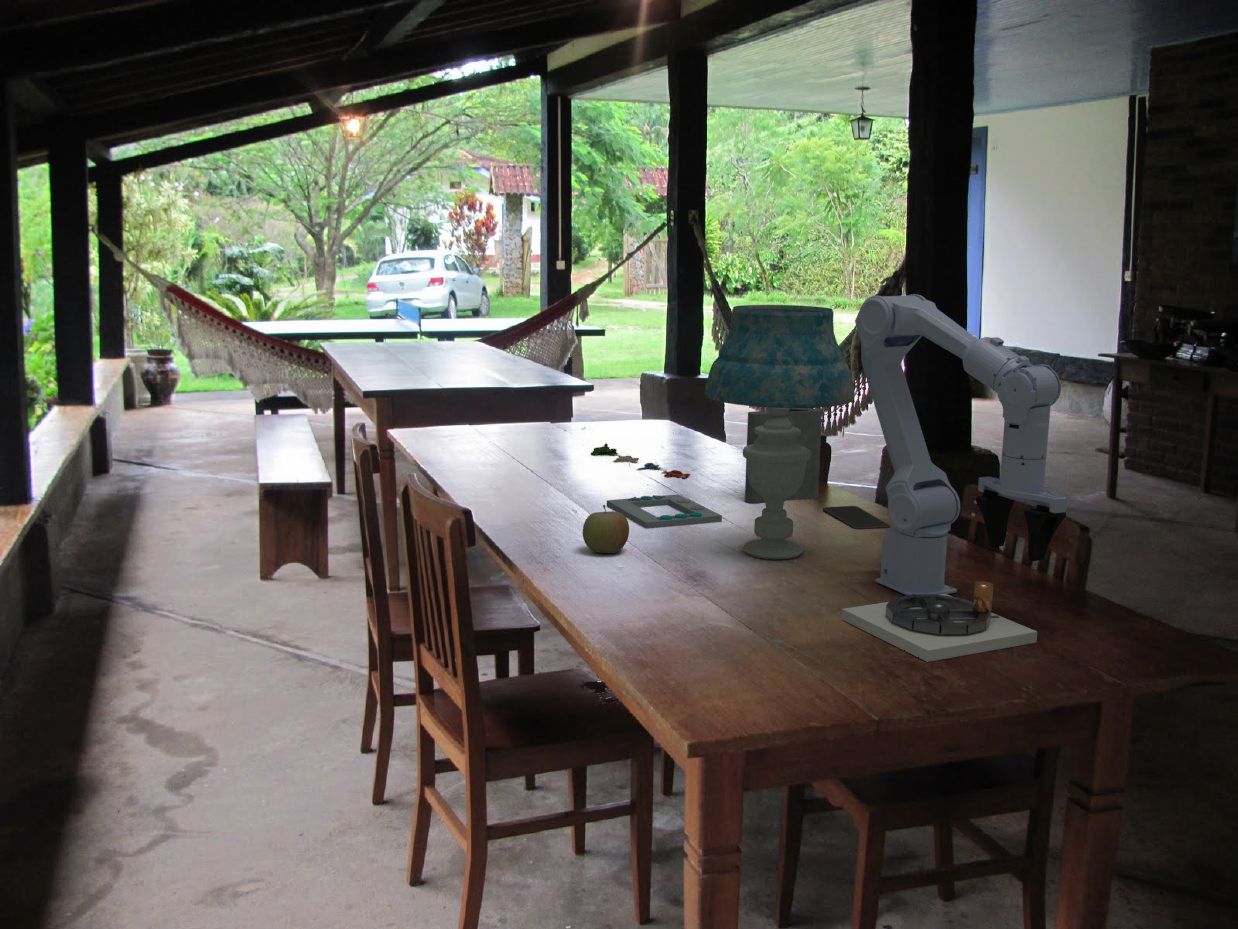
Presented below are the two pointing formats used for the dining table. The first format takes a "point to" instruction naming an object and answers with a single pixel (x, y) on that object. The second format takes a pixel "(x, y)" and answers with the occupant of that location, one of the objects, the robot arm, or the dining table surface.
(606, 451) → the toy spaceship set
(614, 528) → the fruit
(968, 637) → the base plate
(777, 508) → the table lamp
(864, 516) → the smartphone
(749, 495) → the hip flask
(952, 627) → the handwheel
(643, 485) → the dining table surface
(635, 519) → the picture frame
